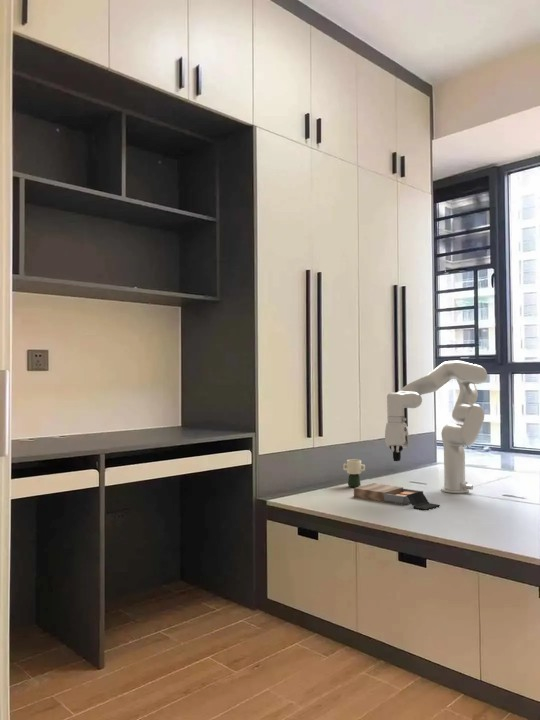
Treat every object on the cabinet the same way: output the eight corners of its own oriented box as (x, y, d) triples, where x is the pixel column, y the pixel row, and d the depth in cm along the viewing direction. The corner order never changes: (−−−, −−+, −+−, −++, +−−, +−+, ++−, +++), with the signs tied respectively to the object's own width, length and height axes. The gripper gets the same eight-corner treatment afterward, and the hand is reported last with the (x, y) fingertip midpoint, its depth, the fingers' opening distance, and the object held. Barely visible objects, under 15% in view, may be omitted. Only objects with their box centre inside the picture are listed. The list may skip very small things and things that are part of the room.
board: (403, 496, 282) (403, 487, 282) (384, 501, 270) (384, 492, 270) (373, 491, 293) (373, 483, 293) (353, 496, 281) (353, 488, 281)
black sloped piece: (430, 507, 251) (417, 486, 256) (417, 516, 254) (404, 495, 259) (442, 506, 260) (429, 486, 265) (428, 515, 263) (416, 495, 268)
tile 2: (405, 491, 279) (405, 495, 279) (399, 492, 275) (399, 497, 275) (415, 492, 275) (415, 497, 275) (409, 494, 272) (409, 499, 271)
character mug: (366, 486, 307) (366, 459, 307) (364, 488, 300) (363, 461, 300) (344, 485, 310) (344, 459, 310) (341, 487, 304) (341, 461, 304)
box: (423, 499, 275) (423, 491, 275) (404, 505, 263) (404, 496, 263) (403, 496, 282) (403, 488, 282) (384, 501, 270) (384, 493, 270)
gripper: (414, 420, 278) (415, 461, 278) (386, 418, 288) (387, 458, 288) (406, 421, 272) (407, 463, 272) (377, 420, 282) (378, 460, 282)
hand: (396, 460), depth 280 cm, fingers closed
